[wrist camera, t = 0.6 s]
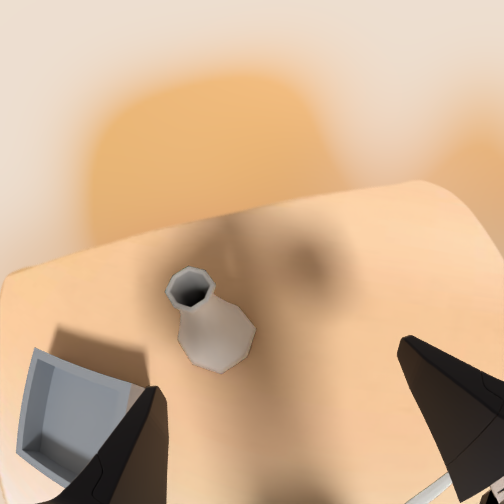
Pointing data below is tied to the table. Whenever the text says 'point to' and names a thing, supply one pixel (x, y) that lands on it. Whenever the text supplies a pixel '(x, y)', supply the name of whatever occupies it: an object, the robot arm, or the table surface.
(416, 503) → the butter knife
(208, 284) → the flask
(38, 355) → the tray
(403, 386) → the table surface
